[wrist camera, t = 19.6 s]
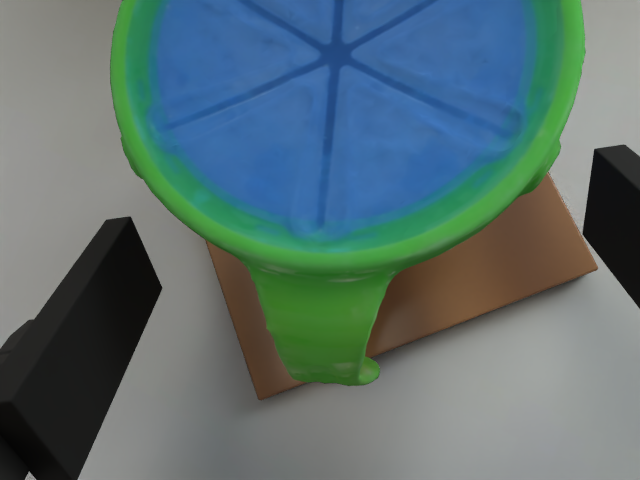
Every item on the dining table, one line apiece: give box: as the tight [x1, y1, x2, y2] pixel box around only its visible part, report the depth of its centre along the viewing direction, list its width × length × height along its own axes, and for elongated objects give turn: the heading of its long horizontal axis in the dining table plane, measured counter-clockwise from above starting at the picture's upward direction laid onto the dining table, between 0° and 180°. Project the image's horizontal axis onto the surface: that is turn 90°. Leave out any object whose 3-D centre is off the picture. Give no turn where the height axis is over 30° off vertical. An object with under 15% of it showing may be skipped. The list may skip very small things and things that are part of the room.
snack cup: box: [110, 0, 586, 386], centre depth 16 cm, size 16×10×10 cm
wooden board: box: [205, 172, 598, 400], centre depth 21 cm, size 14×14×1 cm
